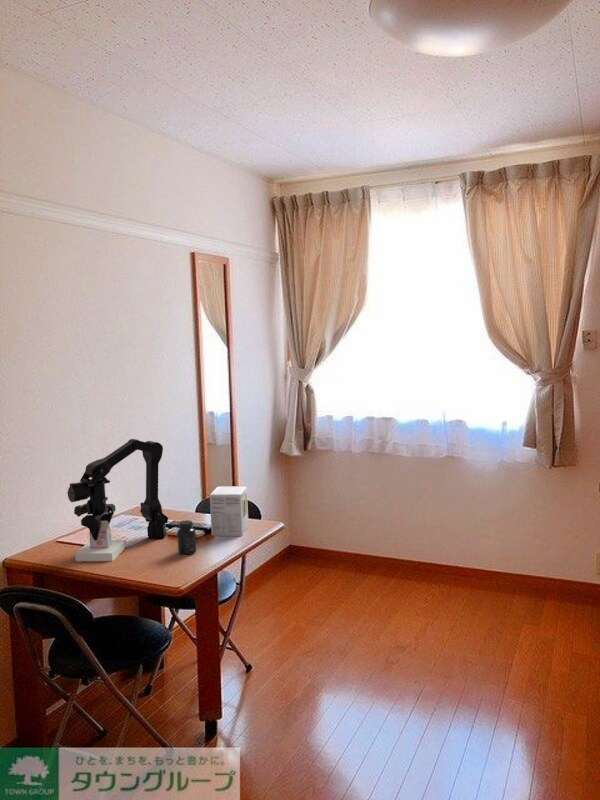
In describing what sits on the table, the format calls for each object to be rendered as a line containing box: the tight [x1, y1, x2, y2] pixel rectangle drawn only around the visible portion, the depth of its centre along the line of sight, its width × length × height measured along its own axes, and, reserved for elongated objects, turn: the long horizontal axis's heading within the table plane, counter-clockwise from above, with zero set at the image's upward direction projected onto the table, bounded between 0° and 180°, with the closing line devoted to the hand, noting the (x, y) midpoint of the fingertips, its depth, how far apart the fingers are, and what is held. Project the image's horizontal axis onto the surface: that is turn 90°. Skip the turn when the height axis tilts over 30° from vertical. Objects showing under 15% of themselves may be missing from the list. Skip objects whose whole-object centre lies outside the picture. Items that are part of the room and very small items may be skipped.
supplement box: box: [209, 485, 249, 537], centre depth 251 cm, size 13×13×18 cm
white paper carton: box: [88, 521, 112, 548], centre depth 228 cm, size 4×7×10 cm, turn 86°
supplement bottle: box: [176, 519, 197, 556], centre depth 227 cm, size 7×7×12 cm
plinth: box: [74, 539, 127, 562], centre depth 229 cm, size 14×14×3 cm
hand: (100, 536), depth 228 cm, fingers open, 9 cm apart
